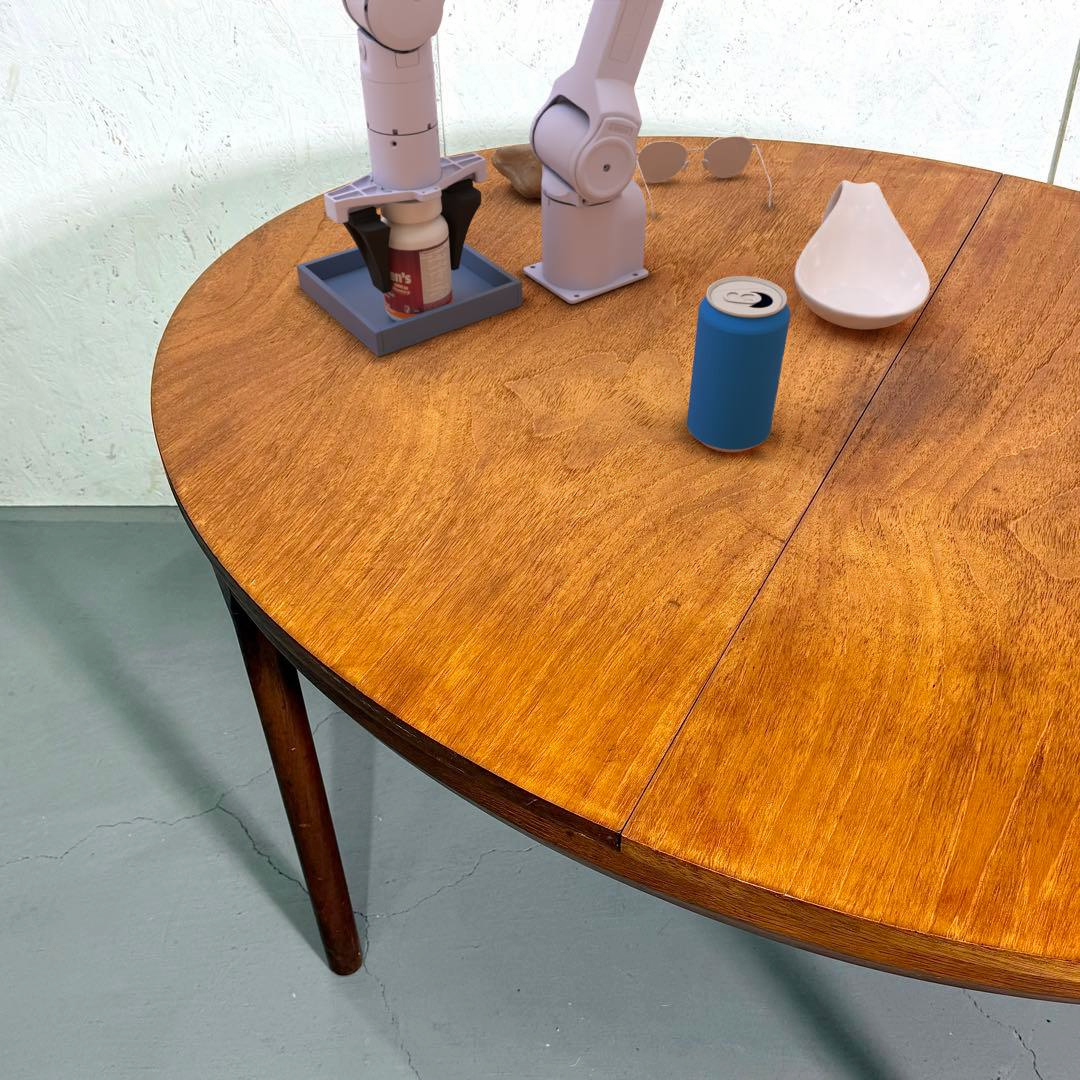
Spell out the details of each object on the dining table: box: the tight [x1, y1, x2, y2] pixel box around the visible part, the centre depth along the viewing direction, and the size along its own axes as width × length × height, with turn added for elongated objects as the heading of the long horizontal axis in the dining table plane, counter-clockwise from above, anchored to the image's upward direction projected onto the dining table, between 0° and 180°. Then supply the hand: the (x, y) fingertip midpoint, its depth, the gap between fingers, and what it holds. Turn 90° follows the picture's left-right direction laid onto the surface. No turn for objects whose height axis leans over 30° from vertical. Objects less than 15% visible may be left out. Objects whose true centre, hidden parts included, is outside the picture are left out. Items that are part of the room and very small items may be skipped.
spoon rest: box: [793, 179, 931, 330], centre depth 98 cm, size 24×12×7 cm, turn 172°
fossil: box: [490, 143, 543, 200], centre depth 114 cm, size 9×4×10 cm
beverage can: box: [686, 275, 791, 453], centre depth 79 cm, size 6×6×12 cm
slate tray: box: [295, 242, 524, 358], centre depth 99 cm, size 15×15×2 cm
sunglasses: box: [636, 135, 773, 217], centre depth 114 cm, size 14×8×5 cm, turn 99°
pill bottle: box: [379, 197, 453, 322], centre depth 93 cm, size 6×6×11 cm
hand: (416, 276), depth 94 cm, fingers open, 6 cm apart
